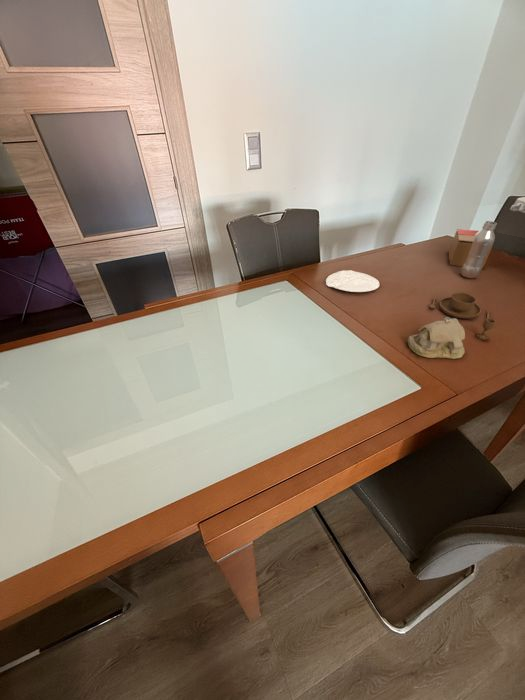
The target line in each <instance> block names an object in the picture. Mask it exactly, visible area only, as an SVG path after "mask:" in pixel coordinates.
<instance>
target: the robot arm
mask: <svg viewBox="0 0 525 700" xmlns="http://www.w3.org/2000/svg"><path fill="white" fill-rule="evenodd" d="M509 211H511V212H521V213H523V214H525V196H521V197H518V198H516V200H515V202H514V204H512V205H511V206H510V208H509Z"/></svg>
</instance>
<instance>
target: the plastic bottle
mask: <svg viewBox="0 0 525 700" xmlns="http://www.w3.org/2000/svg"><path fill="white" fill-rule="evenodd" d="M497 225H498V223H497V222H496V221H492V220H486V221H484V222H483V225H482V229H480V230H478V231H479V232H478V233H477V234H476V235H475V236H474V239H473V243H472V247H471V250H470V253H469V255H468V257H467V259H466V261H465V263H464V265H463V266H461V268H460V275H461V276H462V277H464V278H467V279H475V278H477V277H479V275H480V274H481V272H482V269H483V268H482V264H483V261H484V259H485V256H486V254H487V252H488V250H489V248H490V247H491V245H492V244H493V243H494V242H495V239H496V235H495V232H494V230H496V227H497ZM493 245H494V244H493Z"/></svg>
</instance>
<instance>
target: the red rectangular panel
mask: <svg viewBox="0 0 525 700" xmlns="http://www.w3.org/2000/svg"><path fill="white" fill-rule="evenodd" d="M456 231H457V233H458V235H471V236H475V235H476V234H477V233H478V232H479V231H480V230H473V229H472V230H471V229H461V228H460V229H459V228H457V229H456Z"/></svg>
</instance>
